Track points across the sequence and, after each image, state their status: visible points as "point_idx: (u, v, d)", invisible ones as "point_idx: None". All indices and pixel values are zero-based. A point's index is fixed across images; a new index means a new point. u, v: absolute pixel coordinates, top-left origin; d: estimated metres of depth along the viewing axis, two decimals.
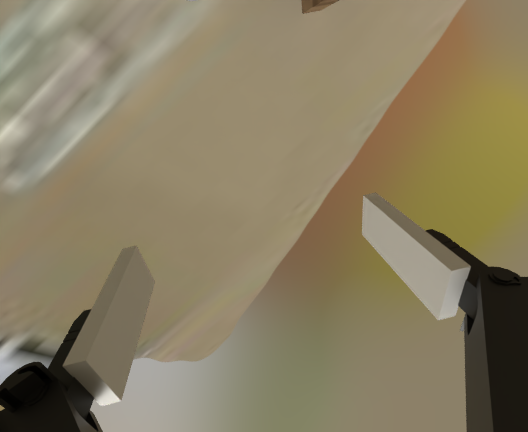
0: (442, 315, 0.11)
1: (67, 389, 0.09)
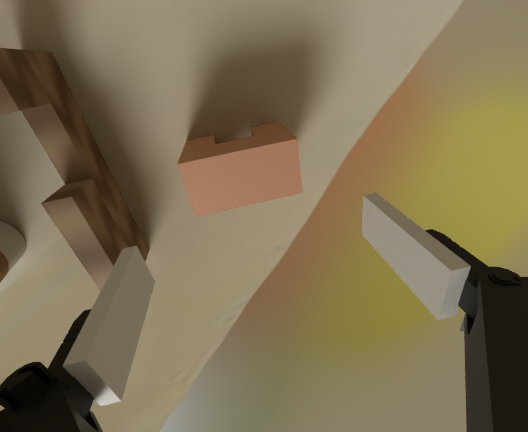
0: (442, 315, 0.11)
1: (67, 389, 0.09)
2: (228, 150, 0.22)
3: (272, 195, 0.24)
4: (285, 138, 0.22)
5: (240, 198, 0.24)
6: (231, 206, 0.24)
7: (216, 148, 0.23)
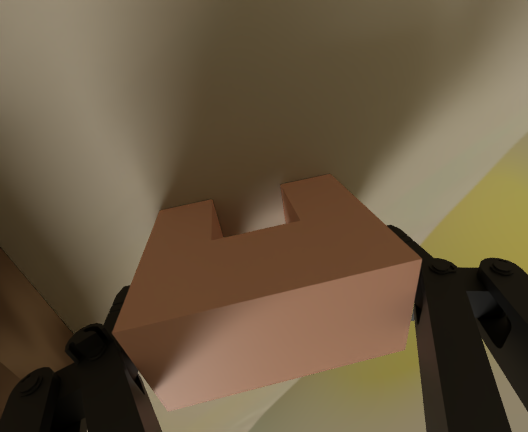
0: None
1: (121, 352, 0.09)
2: (247, 279, 0.09)
3: (341, 361, 0.11)
4: (385, 249, 0.09)
5: (270, 373, 0.10)
6: (249, 387, 0.11)
7: (216, 261, 0.10)
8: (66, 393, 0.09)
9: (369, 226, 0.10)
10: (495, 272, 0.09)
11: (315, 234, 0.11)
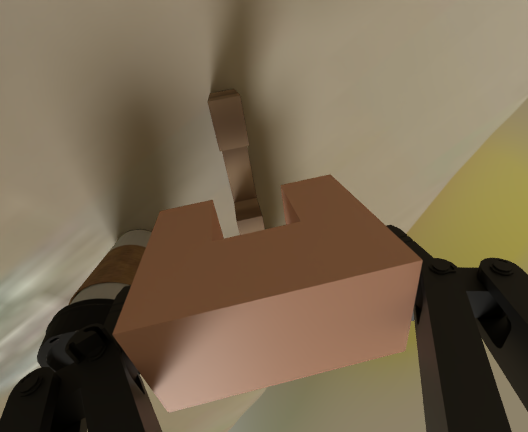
0: None
1: (121, 352, 0.09)
2: (247, 280, 0.09)
3: (341, 362, 0.11)
4: (385, 250, 0.09)
5: (271, 374, 0.10)
6: (250, 388, 0.11)
7: (216, 263, 0.10)
8: (66, 393, 0.09)
9: (369, 227, 0.10)
10: (495, 272, 0.09)
11: (315, 235, 0.11)
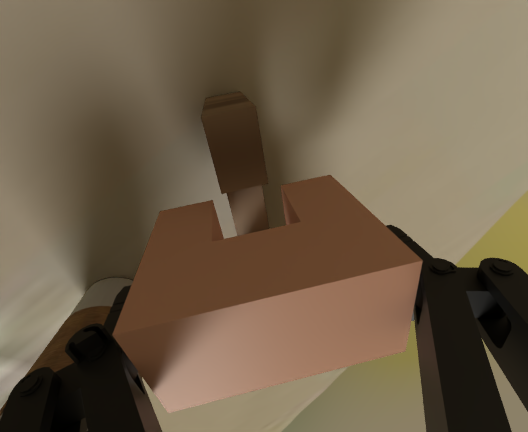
0: None
1: (121, 352, 0.09)
2: (247, 281, 0.09)
3: (341, 362, 0.11)
4: (385, 251, 0.09)
5: (271, 375, 0.10)
6: (250, 389, 0.11)
7: (216, 263, 0.10)
8: (66, 393, 0.09)
9: (369, 227, 0.10)
10: (495, 272, 0.09)
11: (315, 235, 0.11)
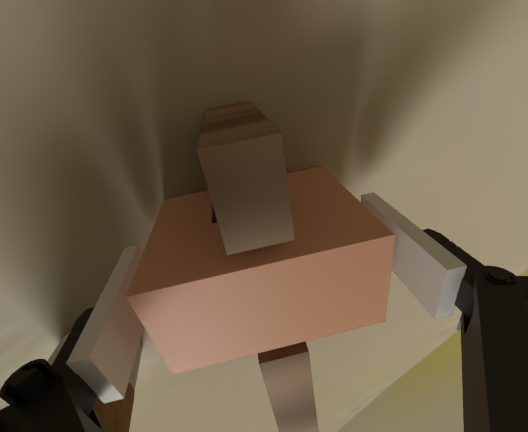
0: (439, 314, 0.11)
1: (71, 386, 0.09)
2: (242, 253, 0.10)
3: (327, 330, 0.12)
4: (364, 227, 0.10)
5: (264, 340, 0.12)
6: (245, 353, 0.12)
7: (216, 240, 0.11)
8: None
9: (352, 209, 0.12)
10: None
11: (304, 217, 0.12)
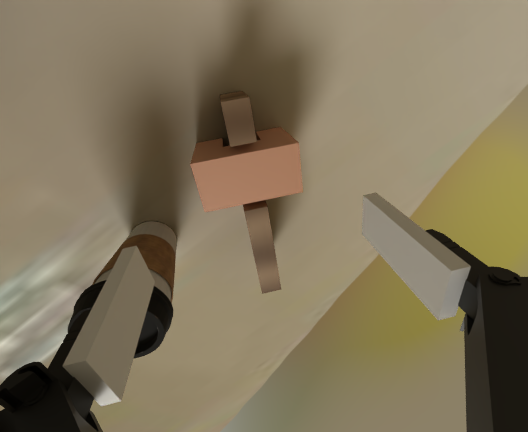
0: (442, 315, 0.11)
1: (67, 389, 0.09)
2: (236, 152, 0.25)
3: (275, 194, 0.26)
4: (288, 142, 0.25)
5: (246, 196, 0.26)
6: (238, 203, 0.26)
7: (225, 150, 0.26)
8: None
9: (286, 138, 0.26)
10: None
11: (265, 142, 0.26)
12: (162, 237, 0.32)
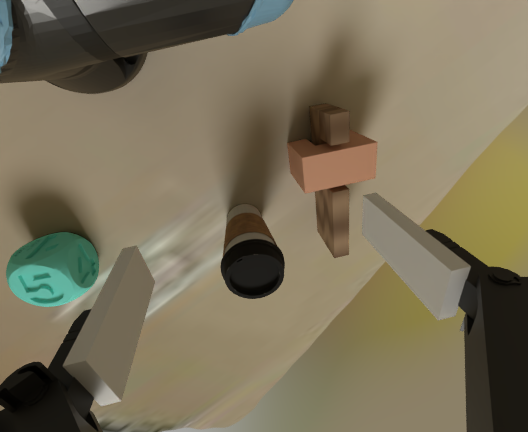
0: (442, 315, 0.11)
1: (67, 389, 0.09)
2: (331, 149, 0.34)
3: (356, 179, 0.36)
4: (368, 141, 0.34)
5: (335, 181, 0.36)
6: (329, 187, 0.36)
7: (320, 148, 0.35)
8: None
9: (364, 139, 0.36)
10: None
11: None
12: (258, 215, 0.42)
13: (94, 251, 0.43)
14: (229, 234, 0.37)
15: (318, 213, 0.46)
